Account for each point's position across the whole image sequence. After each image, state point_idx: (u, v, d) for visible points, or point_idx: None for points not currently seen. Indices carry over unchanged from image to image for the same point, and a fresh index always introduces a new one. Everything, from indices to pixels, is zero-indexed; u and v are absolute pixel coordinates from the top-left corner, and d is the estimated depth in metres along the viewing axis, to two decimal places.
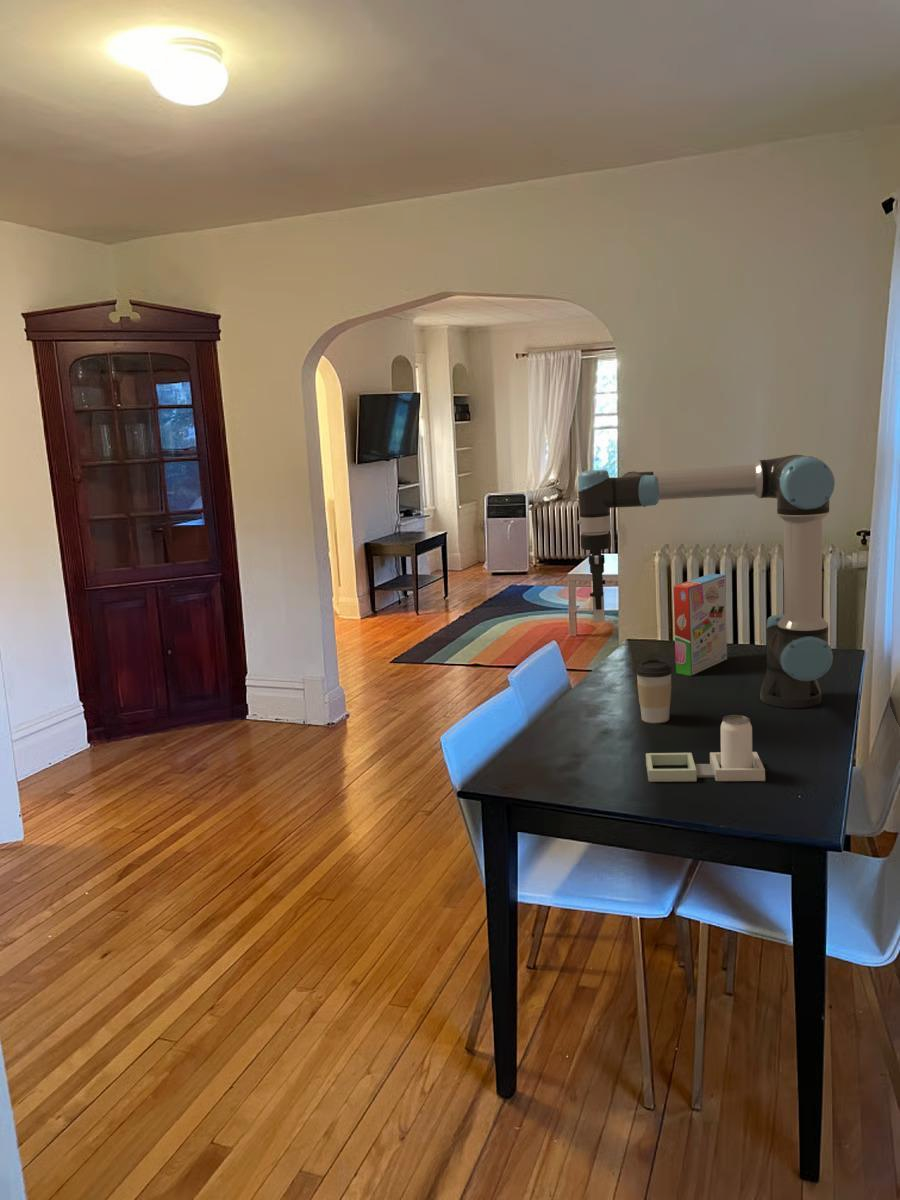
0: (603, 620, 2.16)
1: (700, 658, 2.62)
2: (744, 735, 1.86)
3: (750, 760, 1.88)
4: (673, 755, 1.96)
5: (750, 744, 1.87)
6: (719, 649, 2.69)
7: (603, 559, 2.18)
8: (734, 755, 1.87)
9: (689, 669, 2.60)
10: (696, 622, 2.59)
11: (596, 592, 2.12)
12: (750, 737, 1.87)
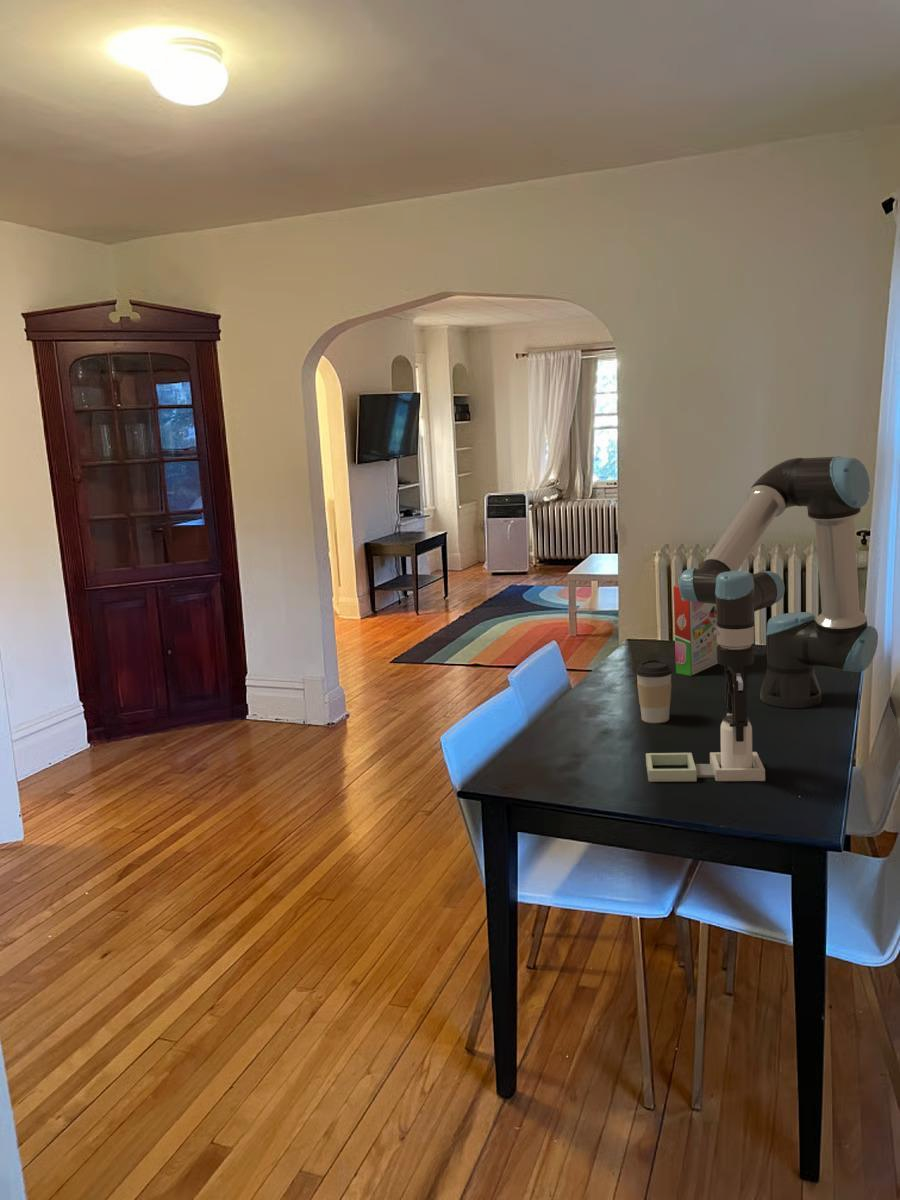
0: (744, 753, 1.85)
1: (700, 658, 2.62)
2: None
3: (750, 760, 1.88)
4: (673, 755, 1.96)
5: (750, 744, 1.87)
6: None
7: (745, 678, 1.84)
8: (734, 755, 1.87)
9: (689, 669, 2.60)
10: (696, 622, 2.59)
11: (739, 723, 1.81)
12: (750, 737, 1.87)
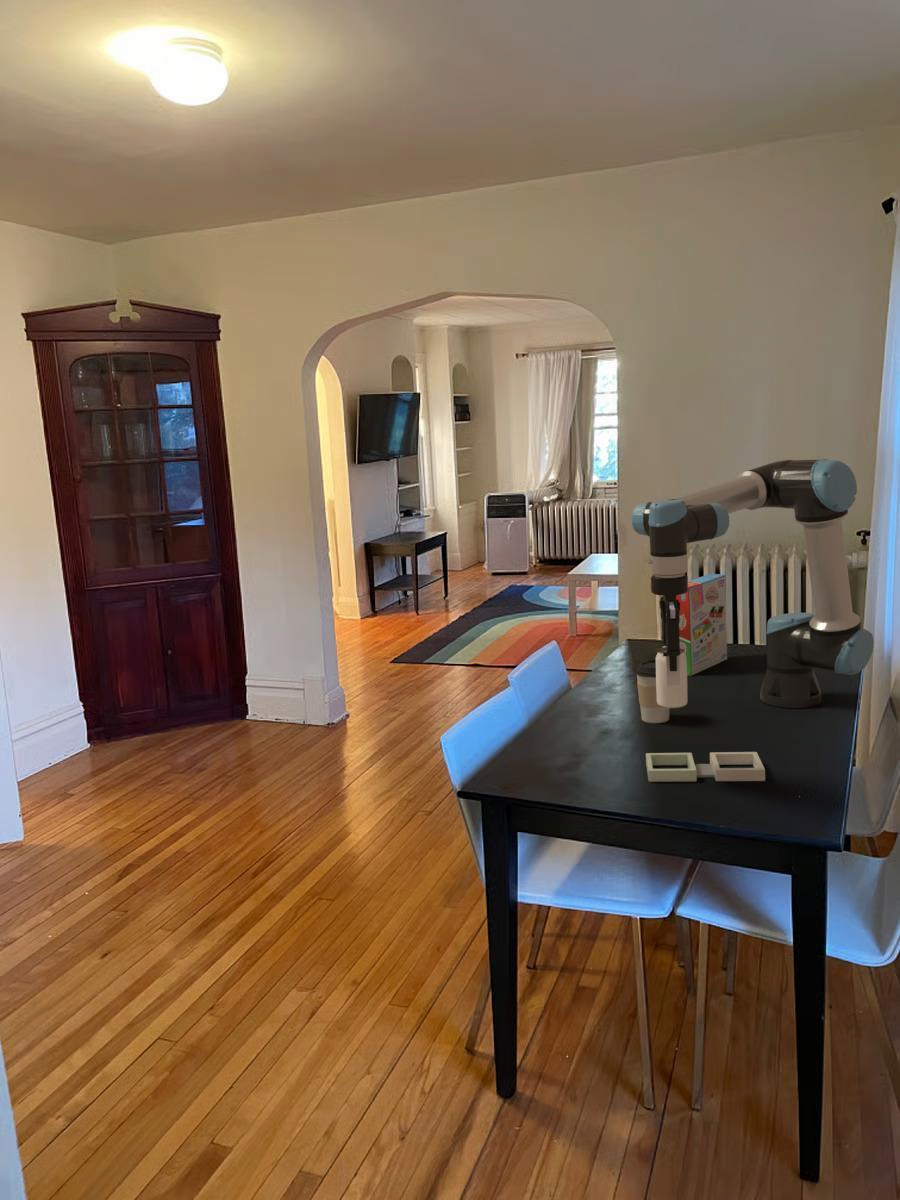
0: (678, 683, 1.84)
1: (700, 658, 2.62)
2: None
3: (685, 691, 1.87)
4: (673, 755, 1.96)
5: (684, 675, 1.86)
6: (719, 649, 2.69)
7: (679, 607, 1.83)
8: None
9: (689, 669, 2.60)
10: (695, 622, 2.59)
11: (672, 652, 1.80)
12: (684, 668, 1.86)
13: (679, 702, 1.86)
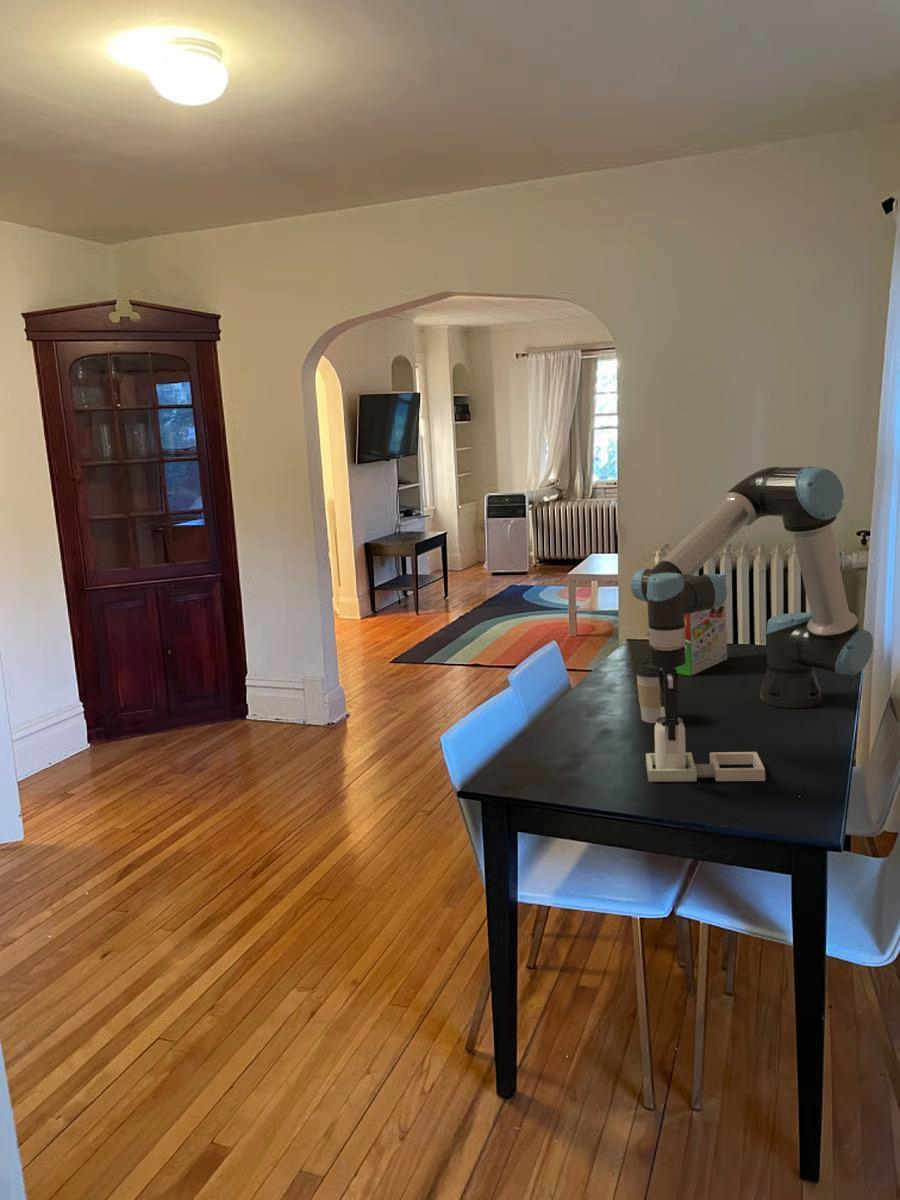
0: (677, 752, 1.86)
1: (700, 658, 2.62)
2: None
3: (683, 761, 1.90)
4: None
5: (683, 745, 1.89)
6: (719, 649, 2.69)
7: (676, 678, 1.86)
8: (667, 755, 1.89)
9: (689, 669, 2.60)
10: (695, 622, 2.59)
11: (670, 722, 1.82)
12: (683, 738, 1.89)
13: None
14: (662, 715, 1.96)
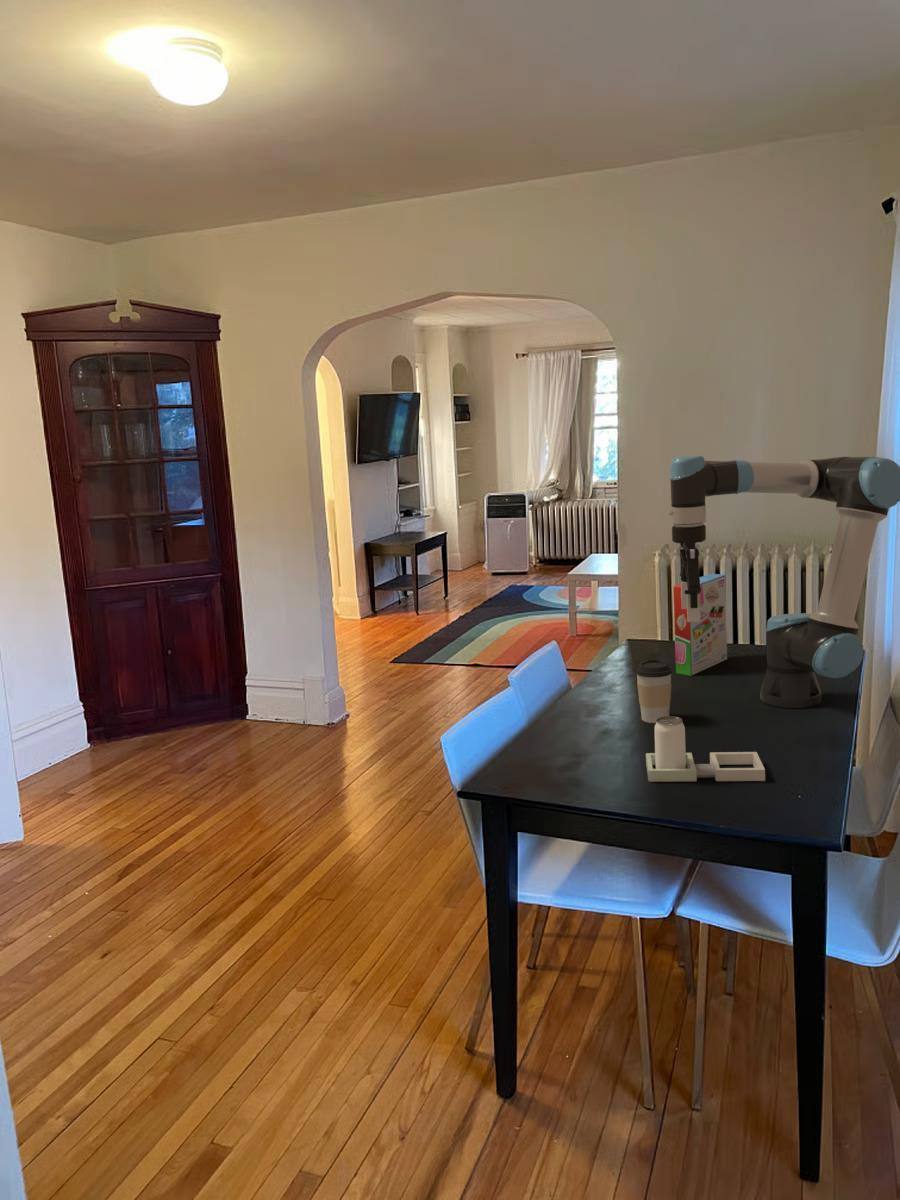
0: (698, 620, 1.98)
1: (700, 658, 2.62)
2: (676, 736, 1.88)
3: (683, 761, 1.90)
4: None
5: (683, 745, 1.89)
6: (719, 649, 2.69)
7: (697, 553, 2.00)
8: (667, 755, 1.89)
9: (689, 669, 2.60)
10: (695, 622, 2.59)
11: (693, 589, 1.94)
12: (683, 738, 1.89)
13: None
14: (682, 589, 2.10)
